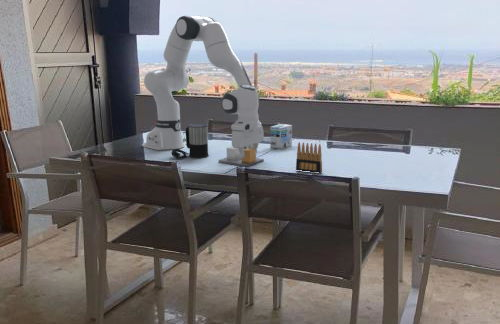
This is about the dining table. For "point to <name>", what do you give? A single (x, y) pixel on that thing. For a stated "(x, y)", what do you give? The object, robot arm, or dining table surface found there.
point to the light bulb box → (281, 136)
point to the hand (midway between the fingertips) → (248, 155)
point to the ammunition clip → (309, 158)
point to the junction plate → (237, 158)
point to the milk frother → (195, 141)
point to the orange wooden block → (249, 155)
